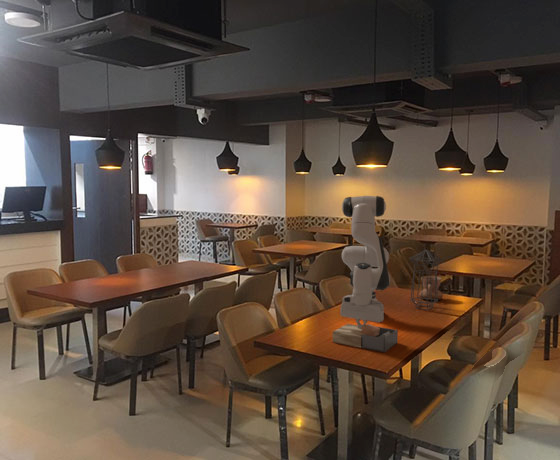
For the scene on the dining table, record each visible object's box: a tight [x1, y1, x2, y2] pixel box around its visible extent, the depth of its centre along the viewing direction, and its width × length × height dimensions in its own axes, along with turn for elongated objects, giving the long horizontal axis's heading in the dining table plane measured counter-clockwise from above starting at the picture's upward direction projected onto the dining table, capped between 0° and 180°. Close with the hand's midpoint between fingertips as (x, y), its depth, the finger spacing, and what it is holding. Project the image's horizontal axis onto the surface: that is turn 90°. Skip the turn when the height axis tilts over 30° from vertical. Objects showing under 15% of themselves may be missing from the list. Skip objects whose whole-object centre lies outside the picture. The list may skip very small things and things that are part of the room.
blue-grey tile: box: [379, 331, 390, 338], centre depth 220 cm, size 6×6×3 cm
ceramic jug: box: [418, 275, 443, 302], centre depth 315 cm, size 18×14×14 cm
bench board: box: [332, 323, 366, 349], centre depth 227 cm, size 16×14×5 cm
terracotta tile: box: [361, 323, 380, 337], centre depth 222 cm, size 6×6×3 cm
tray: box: [361, 325, 399, 353], centre depth 220 cm, size 16×11×6 cm
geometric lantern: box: [409, 249, 443, 311], centre depth 292 cm, size 16×16×35 cm
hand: (361, 328), depth 225 cm, fingers closed
